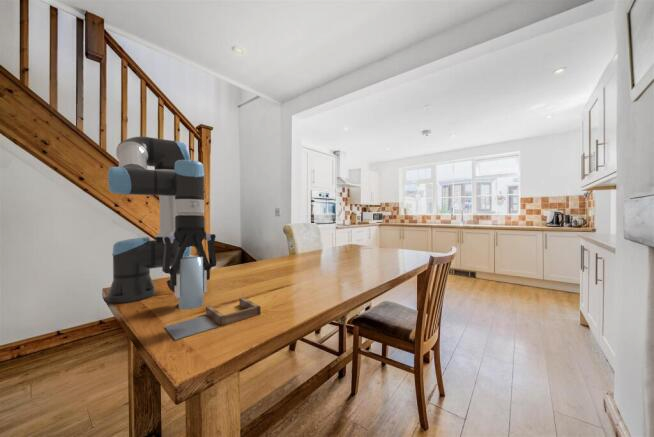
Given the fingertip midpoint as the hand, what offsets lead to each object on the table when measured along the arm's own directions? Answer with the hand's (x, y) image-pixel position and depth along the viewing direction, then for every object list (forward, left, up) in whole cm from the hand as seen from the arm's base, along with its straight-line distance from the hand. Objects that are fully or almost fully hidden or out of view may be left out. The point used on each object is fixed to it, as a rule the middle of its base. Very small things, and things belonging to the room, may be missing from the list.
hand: (191, 293), depth 74 cm
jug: (-1, 0, -3) cm, 4 cm away
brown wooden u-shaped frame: (-1, +13, -10) cm, 16 cm away
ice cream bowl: (-21, +4, -10) cm, 24 cm away
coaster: (0, 0, -10) cm, 10 cm away
